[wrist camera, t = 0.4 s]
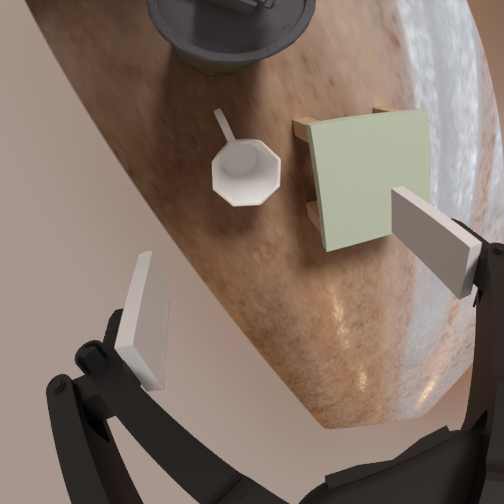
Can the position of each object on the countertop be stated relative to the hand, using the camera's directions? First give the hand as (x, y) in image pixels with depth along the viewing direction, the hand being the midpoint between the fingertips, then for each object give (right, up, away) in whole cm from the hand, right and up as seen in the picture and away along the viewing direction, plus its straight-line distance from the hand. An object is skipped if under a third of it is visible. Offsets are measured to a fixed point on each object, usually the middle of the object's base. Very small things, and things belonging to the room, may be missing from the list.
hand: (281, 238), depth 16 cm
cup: (-4, +12, +19) cm, 23 cm away
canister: (-5, +24, +12) cm, 27 cm away
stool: (+11, +11, +22) cm, 27 cm away
